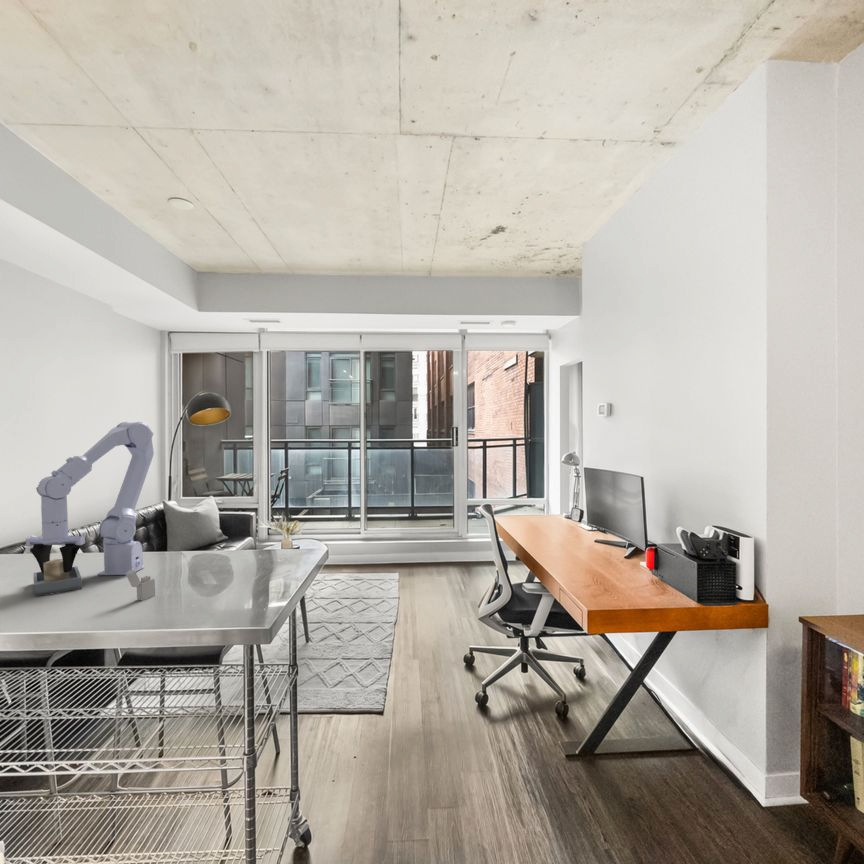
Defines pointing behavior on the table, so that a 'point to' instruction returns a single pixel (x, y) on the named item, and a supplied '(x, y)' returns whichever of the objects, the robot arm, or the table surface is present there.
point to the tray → (56, 583)
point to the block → (54, 571)
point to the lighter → (142, 585)
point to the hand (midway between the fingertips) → (56, 571)
